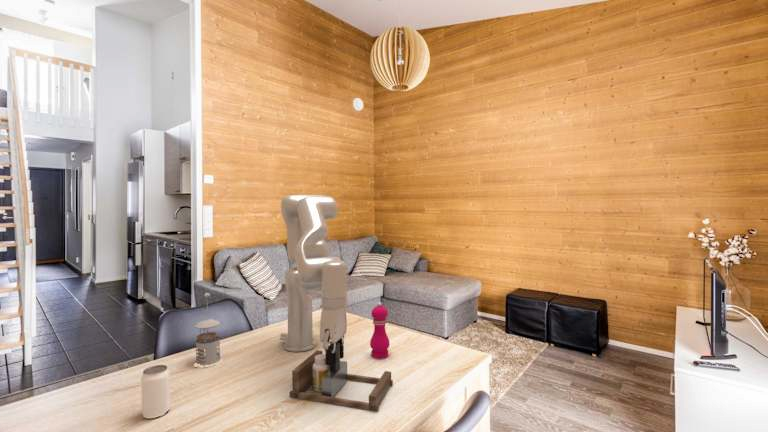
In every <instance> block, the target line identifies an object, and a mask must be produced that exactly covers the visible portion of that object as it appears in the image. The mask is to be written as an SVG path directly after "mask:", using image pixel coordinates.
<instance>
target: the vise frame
mask: <svg viewBox="0 0 768 432" xmlns="http://www.w3.org/2000/svg"><path fill="white" fill-rule="evenodd" d="M319 354H323V350H316V351H314V352H313V353H312V354H310V355H309V356H308V357H307V358H305V360H303V361H302V362H300V363H299V365H297V366H296V367H294V369H292V371H291V374H292V375H291V376H292V377H291V379H292V381H291V382H292V385H291V386H292V387H291V388H292V390H290V391H289V393H288V394H289V398H291V399H297V400H303V401H305V400H306V401H309V402H317V403H322V404H326V405H327V404H329V405H334V406H335V405H336V406H340V407H345V408H347V407H348V408H353V409H359V410H365V411H372V412H377V413H378V412H379V409H380V405H381V404H382V401H383V400H384V398H385V396H386V395H387V393H388V391H389V389H390V388H391V387H393V385H394V379H392V371H388V370H387V371H386V370H385V371H384V372H383V374H382V375H381V376H380V377H373V376H366V375H359V374H351V373H347V381H351V382H358V383H359V382H360V383H367V384H371V385H372V384H374V385H375V386H374V387H373V389H372V390H371V392H370V393H369V395H368V402H365V401H360V400H353V399H348V398H340V397H335V396H334V397H329V396H322V394H315V393H308V392H307V391H308V390H309V389H310V388H311V387H313V364H314V363H315V356H316V355H319Z"/></svg>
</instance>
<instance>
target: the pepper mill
mask: <svg viewBox="0 0 768 432" xmlns="http://www.w3.org/2000/svg"><path fill="white" fill-rule="evenodd" d="M388 315H389V313H388V309H387V307H385V306H383V303H382V302H381V301H378V302H377V304H376V306H375V307H373V308H372V310H371V317H372V318H373V319H372V324H373V326H374V330H373V334H372V336H371V338H370V340H369V345H370V346H369V347H370V348H371V354H370V355H371V357H372V358H374V359H380V360H381V359H385V358H388V357H389V350H388V349H389V348H390V338H389V336H388V335H387V332H386V324H387V317H388Z"/></svg>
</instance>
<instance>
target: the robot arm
mask: <svg viewBox="0 0 768 432" xmlns="http://www.w3.org/2000/svg"><path fill="white" fill-rule="evenodd" d="M280 209H281V216H282V218H283V222H284V224H285V227H286V246H287V258H288V261H290V262H291V263H293V264H295V265H296V266H293V267H290V268H289V269H287V270H286V271H285V274H284V284H285V291H286V298H287V299H286V300H287V301H286V302H287V333H284V332H281V333H280V337H279V339H280V340H281V341H285V342H284V344H283V349H285V350H286V351H288V352H294V353H297V352H298V353H299V352H306V351H309V350H312V349H314V348H316V347H317V345H318V343H317V340H316V339H314V338H313V337H314V335H313V301H312V298H311V297H310V296H309V294H307V292H306V291H311V290H312V291H313V290H319V289H321V297H322V298H321V306H322V307H321V308H322V309H321V313H320V322H319V341H320V343H322V346H321V347H322V348H323V349H324V353H325V355H326V365H329V366H336V352H335V346H336V342H340V360H341V359H344V357H345V356H344V354H345V353H344V352H345V351H344V345H345V335H346V334H347V329H348V327H347V325H348V324H347V322H348V319H347V307H348V296H347V294H348V290H347V289H348V285H347V282H348V281H347V275H348V274H347V264H346V262H345V261H343V260H341V258H340V257H337V256H330V255H329V254H330V253H329V245H328V243H327V241H326V240H325V238H327V236H328V235H329V229H328V225H327V222H326V220H334V219H335V218H337V216H338V213H339V207H338V203H337V201H336V200H335V198H334V197H332V196H330V195H325V194H289V195H286V196H283V197H282V199H281V203H280ZM330 340H331V341H330ZM330 344H332V347H331V346H330Z"/></svg>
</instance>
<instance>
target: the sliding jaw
mask: <svg viewBox="0 0 768 432" xmlns="http://www.w3.org/2000/svg"><path fill="white" fill-rule="evenodd" d="M329 346H331V347H332V344H329ZM335 352H336V366H330V370H329V371H328V372H327V373H326V374H325V375H324V376H323V377H322V392H321V395H322V396H329V397H335V396H336V394H337V393H338V392H339V391H340V390H341V389H342V388H343V386H344V385H345V384H346V383H347V381H348V380H347V374H348V361H344V360H341V359H340V342H336V346H335Z"/></svg>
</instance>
